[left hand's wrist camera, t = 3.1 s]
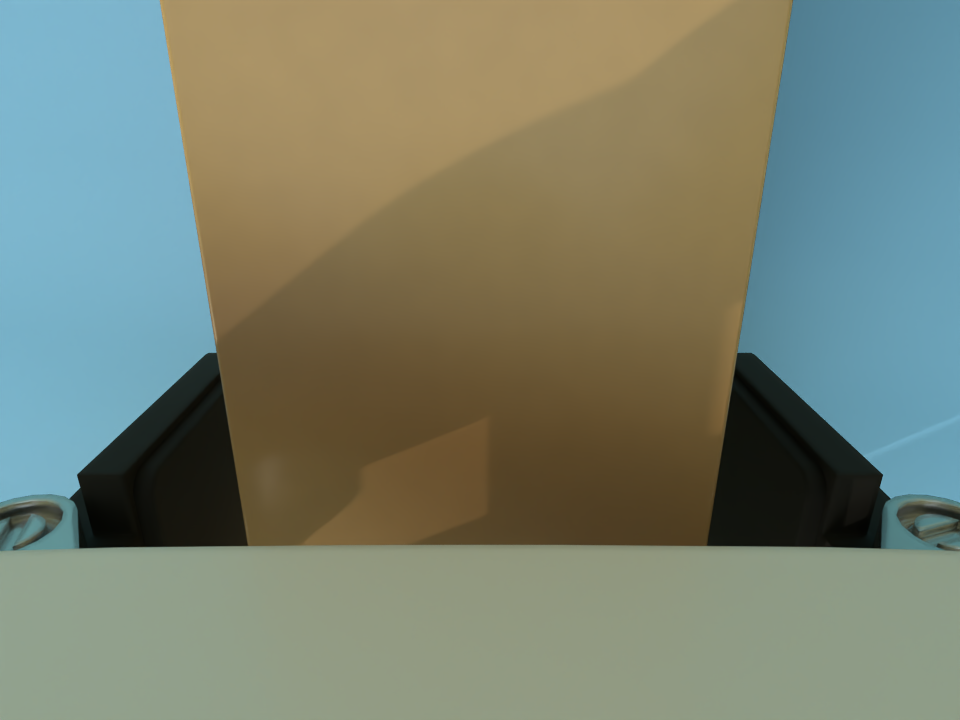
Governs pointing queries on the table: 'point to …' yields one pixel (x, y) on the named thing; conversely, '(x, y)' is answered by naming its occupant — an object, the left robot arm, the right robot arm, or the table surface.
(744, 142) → the bar
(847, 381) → the table surface
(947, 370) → the table surface
